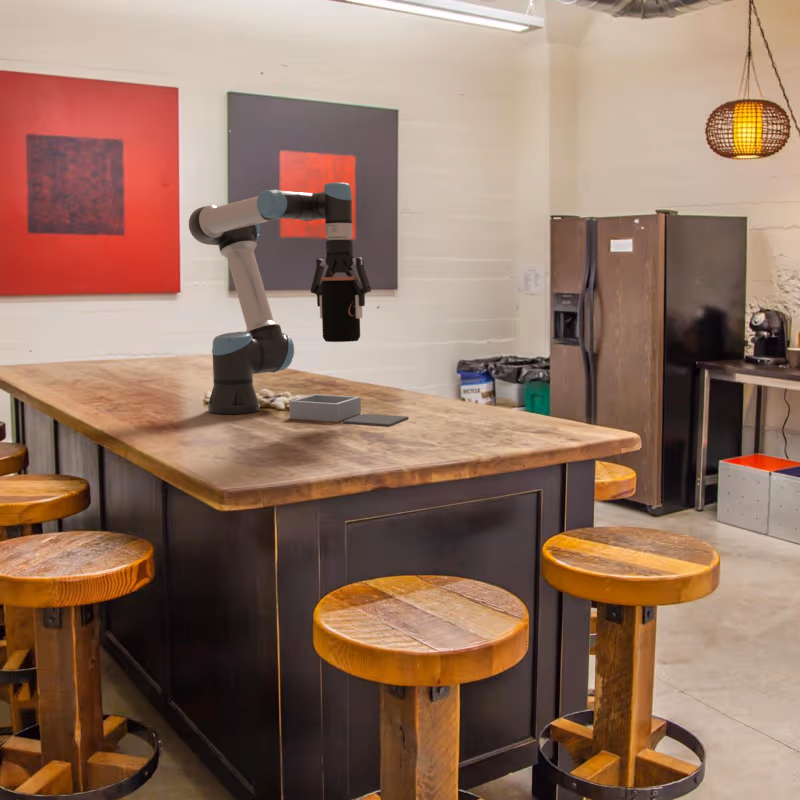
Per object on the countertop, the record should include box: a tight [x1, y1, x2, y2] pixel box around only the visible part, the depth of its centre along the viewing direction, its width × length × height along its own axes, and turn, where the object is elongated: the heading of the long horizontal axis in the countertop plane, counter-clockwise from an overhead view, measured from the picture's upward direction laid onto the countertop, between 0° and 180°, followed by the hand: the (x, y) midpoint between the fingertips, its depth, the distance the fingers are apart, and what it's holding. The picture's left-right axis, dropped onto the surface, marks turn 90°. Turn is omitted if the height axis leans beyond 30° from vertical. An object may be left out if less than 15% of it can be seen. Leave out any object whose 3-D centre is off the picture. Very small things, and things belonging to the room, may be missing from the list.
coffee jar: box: [321, 276, 361, 343], centre depth 260 cm, size 11×11×18 cm
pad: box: [342, 413, 409, 427], centre depth 259 cm, size 14×14×1 cm
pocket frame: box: [288, 393, 362, 423], centre depth 267 cm, size 15×15×5 cm
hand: (341, 318), depth 260 cm, fingers closed on coffee jar, 11 cm apart
